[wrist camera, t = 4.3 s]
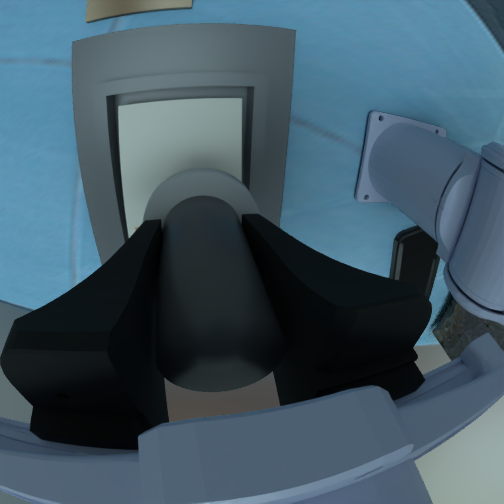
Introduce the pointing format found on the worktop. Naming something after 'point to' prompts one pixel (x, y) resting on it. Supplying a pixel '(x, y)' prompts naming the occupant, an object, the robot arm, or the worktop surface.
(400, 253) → the phone
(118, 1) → the pad
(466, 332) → the geological specimen
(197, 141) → the rocker switch
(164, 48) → the switch panel
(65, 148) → the worktop surface
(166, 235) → the dark round-ended cylinder
